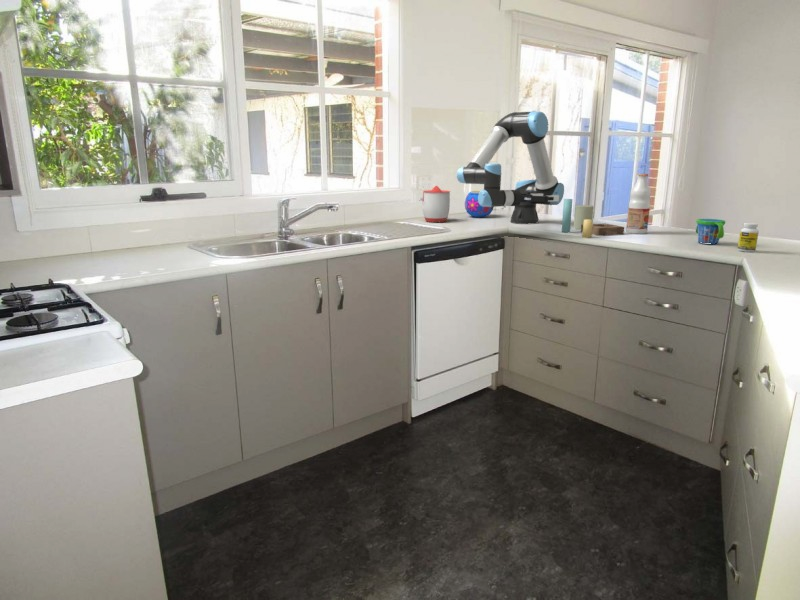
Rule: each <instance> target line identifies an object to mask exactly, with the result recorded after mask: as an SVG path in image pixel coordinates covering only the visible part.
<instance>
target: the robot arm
mask: <svg viewBox="0 0 800 600" xmlns="http://www.w3.org/2000/svg"><path fill="white" fill-rule="evenodd" d="M548 131H549V119H548V117H547V115H546V114H545V113H544V112H543V111H537V110H536V111H535V110H531V111H518V112H517V111H515V112H510V113H508V114H506V115H505V116H502V118H500V119H499V120H498V121H497V122H496V123H495V124H494V126H493V127H492V128H491V130H490V135H489V136H488V137H487V139H485V141H484V143H483V144H482V145H481V147H479V149H478V151H477V152H476V153H475V155H474V156H473V157H472V159H470V161H469V162H468V164H467V165H466V166H462V167H459V168H458V169H457V171H456V179H457V181H458V182H459V183H460V184H466V185H468V184H469V185H470V184H471V185H483V189H481V190H480V192H479V195H478V202H479V204H480V205H481V206H483V207H494V208H495V207H497V208H498V207H503V208H506V207H514V209H513V212H512V214H511V216H510V223H512V222H515V223H514V224H519V223H526V224H527V225H529V224H528V223H534V224H538V223H539V220H540V219H539V215H538V212H537V211H538V210H537V205H545V206H546V205H548V206H552V205H553V206H558V205H559V204H560V203H561V202H562V200H563V199H564V195H565V185H564V183H562V182H559V181H558V177H556V176H555V175H554V174H553V169H552V165H551V161H550V158H549V154H548V150H547V146H546V142H545V138H546V136H547V134H548ZM519 137H520V138H521V141H522V144H525V146H526V148H527V151H528V154H529V158H530V161H531V165H532V169H533V171H534V175H535V178H536V179H527V180H525V179H524V180H519V181H516V182H515V189H501V185H502V164H501V163H490V161H491V160H492V159H493V157H494V156H495V155H496V154H497V152H498V151H499V149H500V148H501V147H502V145H503V144H504V143H506V142H508V140H509V139H510V138H519ZM526 224H525V225H526Z"/></svg>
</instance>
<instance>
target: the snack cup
mask: <svg viewBox="0 0 800 600" xmlns="http://www.w3.org/2000/svg"><path fill="white" fill-rule="evenodd" d="M696 224H697V226H696V228H695V233H696V234H697V242H702V243H711V244H713V245H716V244H715V243H718V244H719V242H720V239H723V238H724V235H725V231H724V226H725V224H726V220H724V219H717V218H698V219H697V220H696Z"/></svg>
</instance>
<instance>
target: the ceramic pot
mask: <svg viewBox="0 0 800 600" xmlns="http://www.w3.org/2000/svg"><path fill="white" fill-rule="evenodd" d="M480 191H481V190H480ZM480 191H479V190H473V191H470V192H468V193H467V195H466V197H465V200H464V209H465V211H466V213H467V214H468V215H470V216H471V217H474V218H486V217H487V216H489V215H491V213H492V212H493V210H494V208H495V207H483V206H481V205H480V204H479V202H478V195H479V192H480Z"/></svg>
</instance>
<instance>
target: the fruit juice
mask: <svg viewBox="0 0 800 600" xmlns="http://www.w3.org/2000/svg"><path fill="white" fill-rule="evenodd" d="M636 178H637V180H636V183H635V184H634V186H633V187H632V188H631V189H630V200H629V203H628V210H627V211H628V212H627V218H626V219H627V220H626V233H627V234H631V233H633V234H634V235H644V234H645V233H646V234H647V233H648V226H649V225H648V224H649V219H650V209H651V201H650V199H651V195H652V191H651V188H650V186H649V185H648V178H649V173H637V174H636ZM646 234H645V235H646Z"/></svg>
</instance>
